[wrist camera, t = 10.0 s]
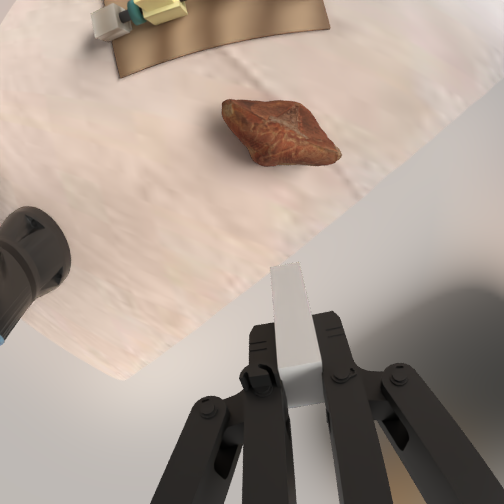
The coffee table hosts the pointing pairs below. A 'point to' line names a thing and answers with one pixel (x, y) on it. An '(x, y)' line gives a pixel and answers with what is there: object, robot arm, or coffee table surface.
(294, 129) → the fossil
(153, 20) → the yellow sliding block
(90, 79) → the coffee table surface
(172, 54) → the brown flat board
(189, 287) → the coffee table surface
